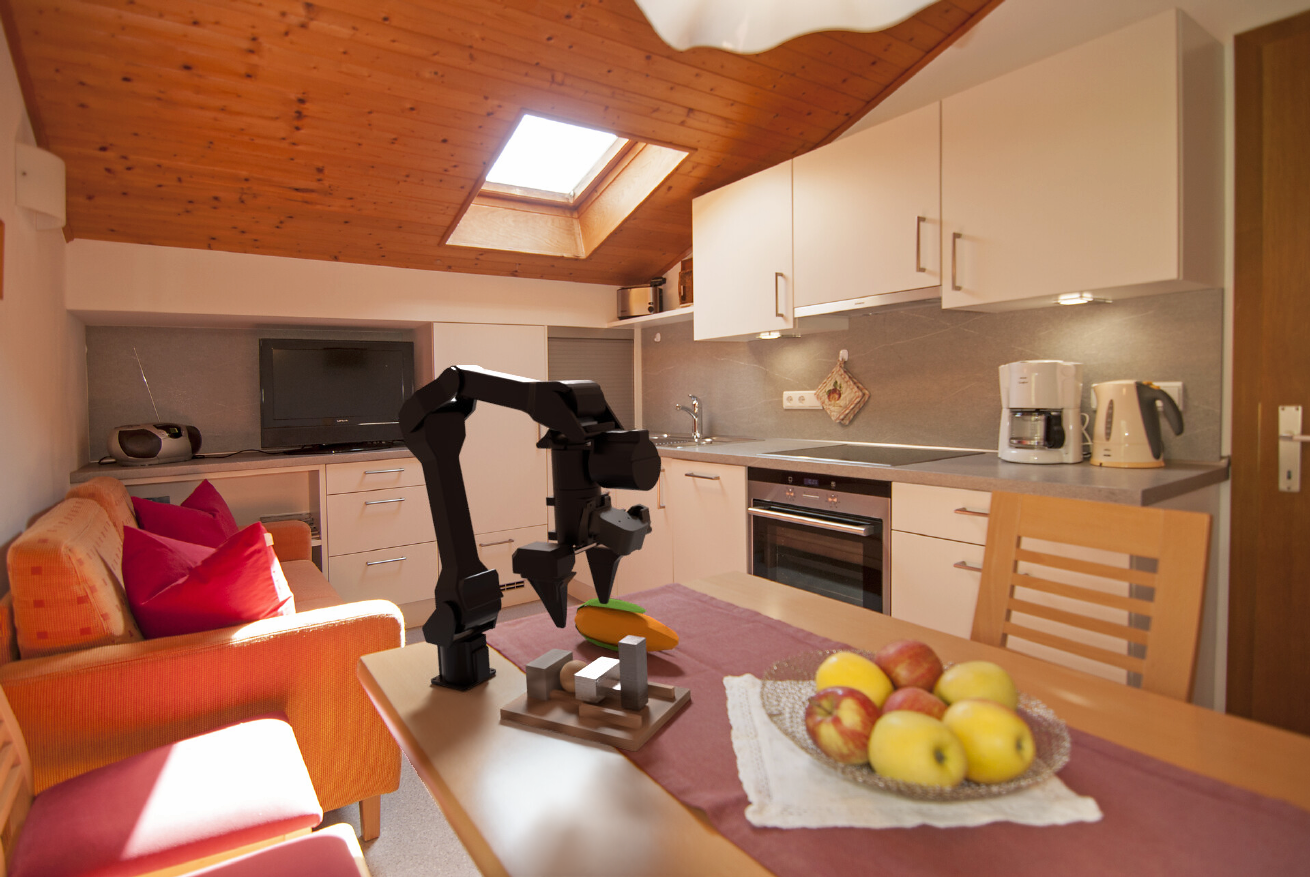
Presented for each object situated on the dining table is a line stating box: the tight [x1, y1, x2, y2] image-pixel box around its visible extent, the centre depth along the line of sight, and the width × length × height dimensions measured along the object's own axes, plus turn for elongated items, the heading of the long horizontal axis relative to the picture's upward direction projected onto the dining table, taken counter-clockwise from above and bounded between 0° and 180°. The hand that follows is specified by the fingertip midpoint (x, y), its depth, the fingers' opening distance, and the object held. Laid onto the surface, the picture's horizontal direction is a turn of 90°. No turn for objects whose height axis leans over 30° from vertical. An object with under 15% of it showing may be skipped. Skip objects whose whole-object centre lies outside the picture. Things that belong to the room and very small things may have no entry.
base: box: [499, 647, 692, 752], centre depth 87 cm, size 19×14×5 cm
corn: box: [573, 597, 680, 653], centre depth 106 cm, size 7×8×20 cm
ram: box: [575, 635, 649, 711], centre depth 85 cm, size 8×6×8 cm
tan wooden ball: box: [560, 659, 589, 693], centre depth 88 cm, size 4×4×4 cm
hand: (583, 614), depth 84 cm, fingers open, 9 cm apart
